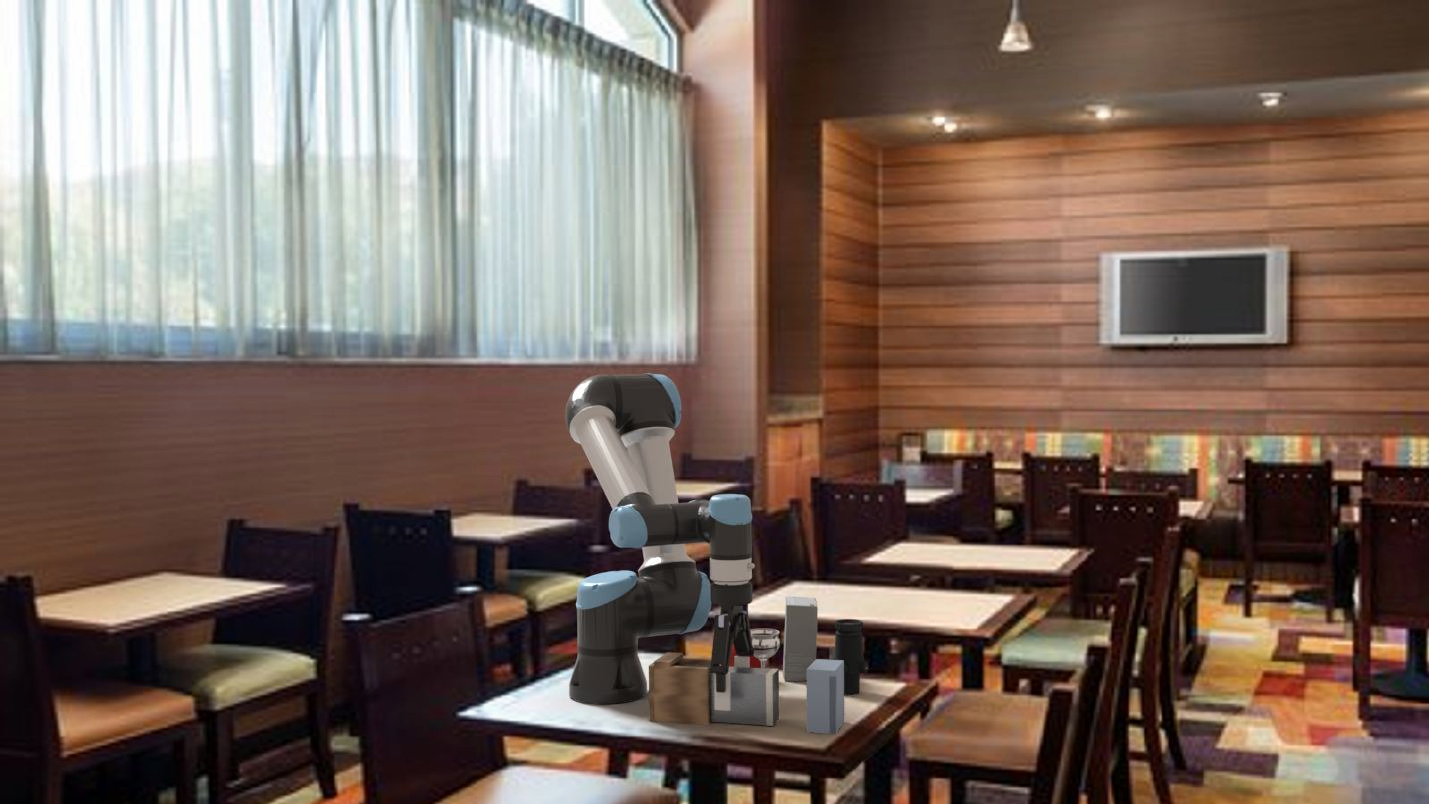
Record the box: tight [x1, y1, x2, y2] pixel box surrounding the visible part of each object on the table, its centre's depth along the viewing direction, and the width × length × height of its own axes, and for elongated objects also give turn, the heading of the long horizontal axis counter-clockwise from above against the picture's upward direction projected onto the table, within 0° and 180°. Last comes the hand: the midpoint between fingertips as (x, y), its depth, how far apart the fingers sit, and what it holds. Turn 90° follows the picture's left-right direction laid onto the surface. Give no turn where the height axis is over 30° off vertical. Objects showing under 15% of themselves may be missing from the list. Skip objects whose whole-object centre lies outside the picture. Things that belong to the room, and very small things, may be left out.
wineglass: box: [750, 628, 781, 669], centre depth 256 cm, size 7×7×12 cm
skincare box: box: [782, 596, 819, 682], centre depth 269 cm, size 8×7×16 cm
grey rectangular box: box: [672, 663, 780, 727], centre depth 238 cm, size 21×5×9 cm, turn 74°
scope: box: [825, 618, 870, 696], centre depth 256 cm, size 8×14×10 cm
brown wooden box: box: [648, 651, 711, 726], centre depth 239 cm, size 11×8×11 cm
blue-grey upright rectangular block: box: [806, 658, 845, 735], centre depth 232 cm, size 5×8×11 cm, turn 164°
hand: (732, 700), depth 237 cm, fingers open, 12 cm apart
